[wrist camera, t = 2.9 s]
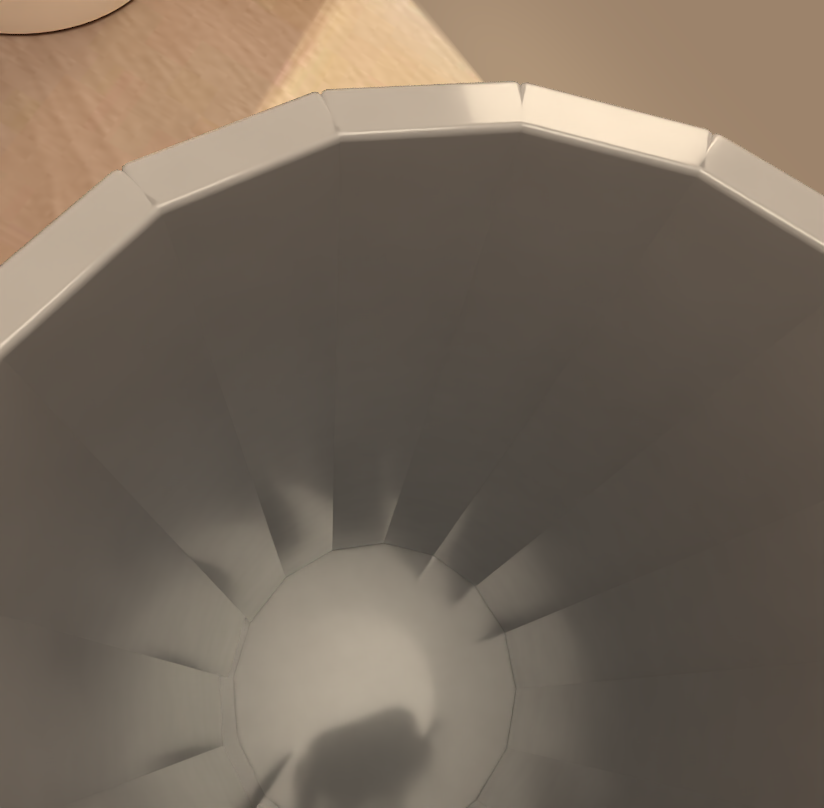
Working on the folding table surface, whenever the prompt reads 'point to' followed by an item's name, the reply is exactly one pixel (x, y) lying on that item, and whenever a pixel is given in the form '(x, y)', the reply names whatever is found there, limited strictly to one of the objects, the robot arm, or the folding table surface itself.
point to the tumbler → (418, 467)
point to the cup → (51, 14)
